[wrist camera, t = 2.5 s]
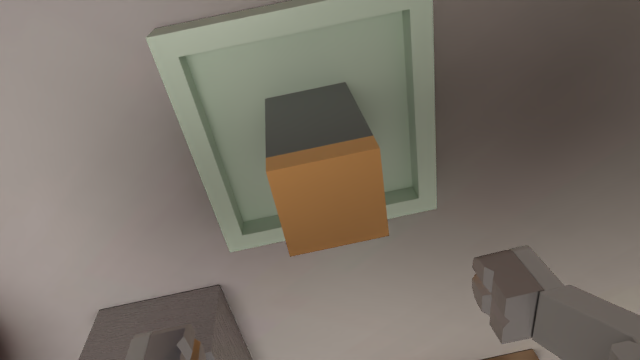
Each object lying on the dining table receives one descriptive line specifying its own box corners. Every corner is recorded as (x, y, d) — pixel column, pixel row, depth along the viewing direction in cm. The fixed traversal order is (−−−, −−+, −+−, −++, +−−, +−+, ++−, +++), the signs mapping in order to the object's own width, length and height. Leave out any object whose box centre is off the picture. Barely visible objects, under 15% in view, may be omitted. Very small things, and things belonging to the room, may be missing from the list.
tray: (418, -26, 18) (432, -22, 17) (426, 191, 25) (437, 208, 23) (155, 28, 18) (145, 37, 17) (232, 232, 25) (230, 252, 23)
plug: (345, 82, 20) (379, 148, 14) (355, 152, 22) (388, 235, 16) (265, 98, 20) (265, 172, 14) (282, 167, 22) (290, 256, 16)
